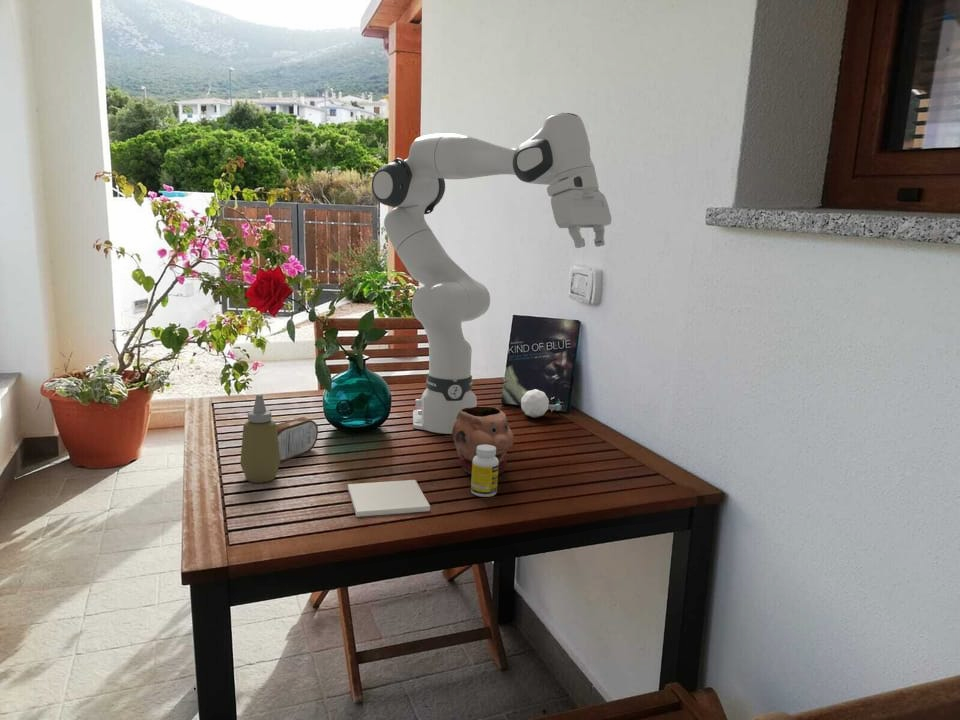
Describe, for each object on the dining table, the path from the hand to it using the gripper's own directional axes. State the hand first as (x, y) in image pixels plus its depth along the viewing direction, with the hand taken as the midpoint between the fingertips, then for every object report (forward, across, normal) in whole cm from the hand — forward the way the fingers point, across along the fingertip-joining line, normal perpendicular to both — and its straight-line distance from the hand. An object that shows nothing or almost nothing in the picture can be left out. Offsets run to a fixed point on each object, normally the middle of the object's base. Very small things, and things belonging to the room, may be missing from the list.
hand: (590, 246), depth 160 cm
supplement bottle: (+46, +31, -20) cm, 59 cm away
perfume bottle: (+40, -26, -40) cm, 63 cm away
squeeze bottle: (+34, +57, -57) cm, 87 cm away
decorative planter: (+43, +20, -29) cm, 56 cm away
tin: (+32, +43, -63) cm, 83 cm away
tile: (+42, +47, -31) cm, 70 cm away
